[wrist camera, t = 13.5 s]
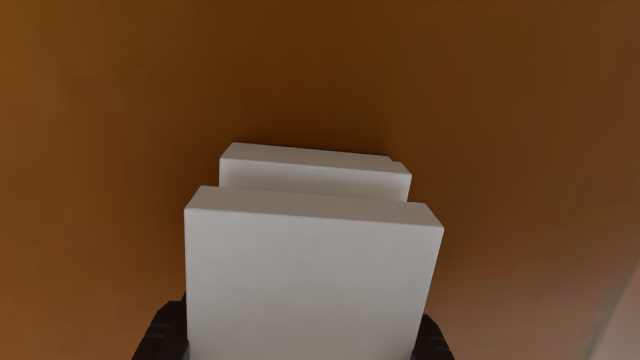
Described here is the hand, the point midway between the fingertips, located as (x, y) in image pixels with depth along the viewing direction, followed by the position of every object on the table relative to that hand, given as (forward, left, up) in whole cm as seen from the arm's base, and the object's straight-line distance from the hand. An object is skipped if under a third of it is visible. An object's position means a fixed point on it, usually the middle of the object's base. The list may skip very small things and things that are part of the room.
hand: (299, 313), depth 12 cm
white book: (0, 0, +1) cm, 1 cm away
